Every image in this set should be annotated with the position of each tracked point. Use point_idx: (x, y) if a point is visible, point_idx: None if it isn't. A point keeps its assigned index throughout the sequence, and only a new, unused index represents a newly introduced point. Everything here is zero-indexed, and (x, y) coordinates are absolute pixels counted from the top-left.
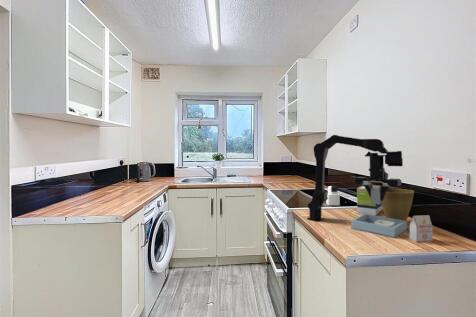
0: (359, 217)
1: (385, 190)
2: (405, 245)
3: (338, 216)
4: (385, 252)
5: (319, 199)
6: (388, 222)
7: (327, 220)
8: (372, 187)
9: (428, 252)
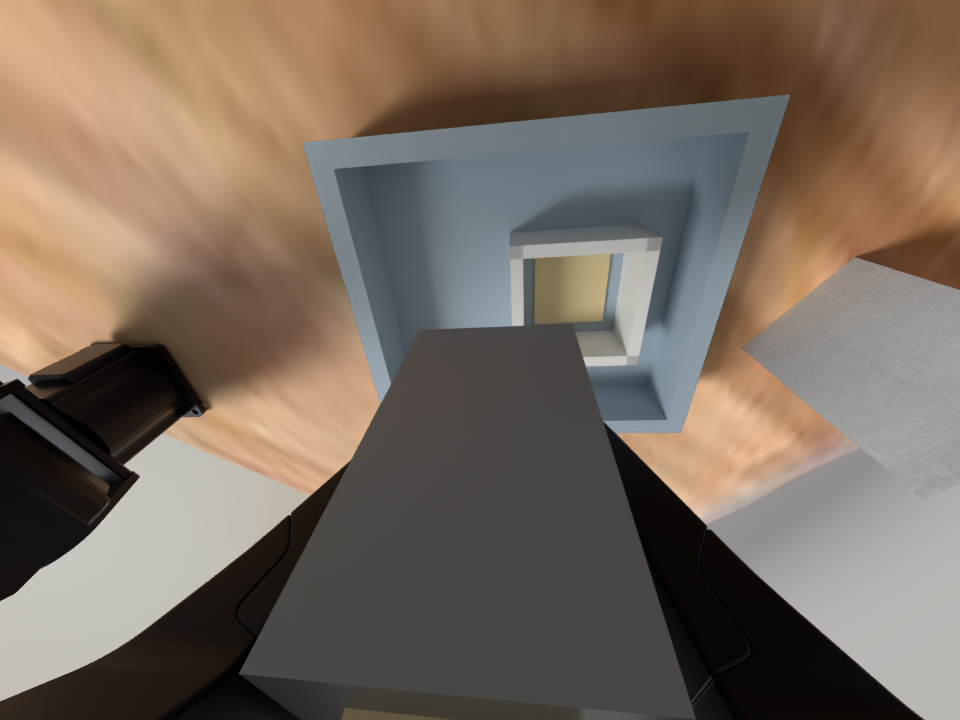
0: (373, 340)
1: (765, 663)
2: (717, 449)
3: (88, 167)
4: None
5: (61, 554)
6: (595, 251)
7: (195, 348)
8: (226, 676)
9: (816, 465)
